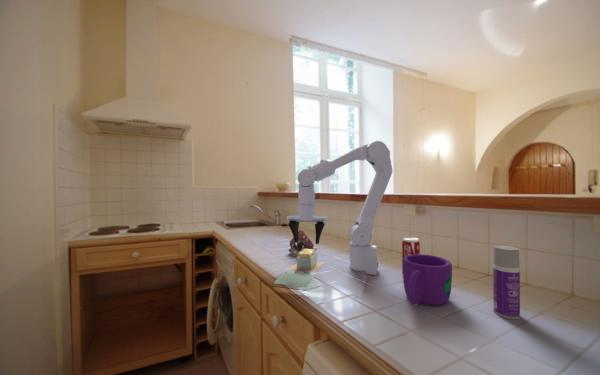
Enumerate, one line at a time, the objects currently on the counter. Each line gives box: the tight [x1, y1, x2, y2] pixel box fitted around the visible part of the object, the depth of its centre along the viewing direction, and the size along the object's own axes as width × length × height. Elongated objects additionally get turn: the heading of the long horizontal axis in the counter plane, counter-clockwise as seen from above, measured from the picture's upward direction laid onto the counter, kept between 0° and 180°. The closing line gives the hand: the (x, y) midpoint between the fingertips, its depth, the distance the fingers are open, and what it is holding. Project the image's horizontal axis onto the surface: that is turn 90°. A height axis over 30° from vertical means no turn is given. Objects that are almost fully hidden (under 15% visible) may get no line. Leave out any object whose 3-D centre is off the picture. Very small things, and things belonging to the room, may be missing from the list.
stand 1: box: [289, 262, 325, 273], centre depth 90 cm, size 10×10×1 cm
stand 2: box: [273, 271, 316, 291], centre depth 78 cm, size 10×10×1 cm
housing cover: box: [298, 249, 316, 258], centre depth 90 cm, size 4×7×1 cm, turn 162°
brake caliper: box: [288, 229, 318, 258], centre depth 108 cm, size 11×11×12 cm
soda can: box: [401, 237, 421, 275], centre depth 82 cm, size 5×5×12 cm
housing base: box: [296, 251, 318, 270], centre depth 90 cm, size 5×8×4 cm, turn 162°
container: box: [492, 244, 521, 320], centre depth 58 cm, size 5×5×15 cm
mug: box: [402, 253, 453, 307], centre depth 64 cm, size 17×11×10 cm, turn 138°
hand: (306, 242), depth 90 cm, fingers open, 7 cm apart
